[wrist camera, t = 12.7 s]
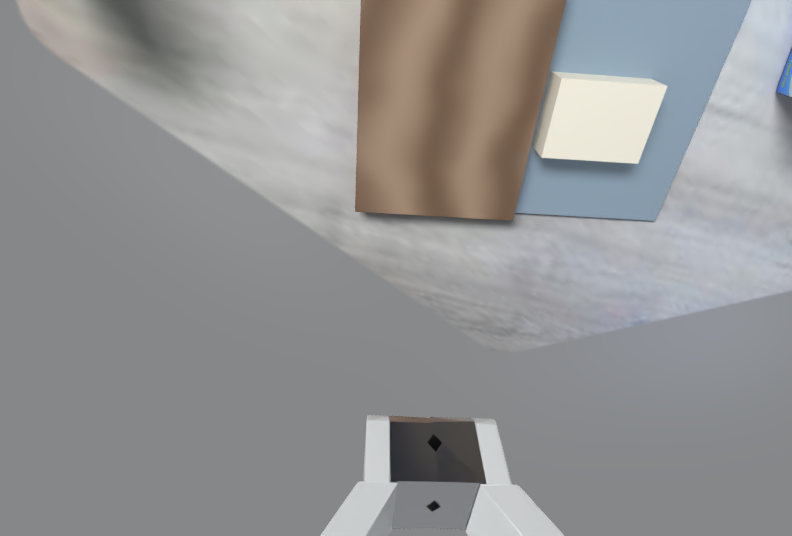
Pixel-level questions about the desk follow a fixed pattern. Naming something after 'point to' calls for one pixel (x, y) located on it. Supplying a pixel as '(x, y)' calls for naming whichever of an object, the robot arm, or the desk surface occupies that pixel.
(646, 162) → the mat
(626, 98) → the tile
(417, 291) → the desk surface
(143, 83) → the desk surface
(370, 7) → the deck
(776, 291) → the desk surface
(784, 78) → the medicine box
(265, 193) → the desk surface
